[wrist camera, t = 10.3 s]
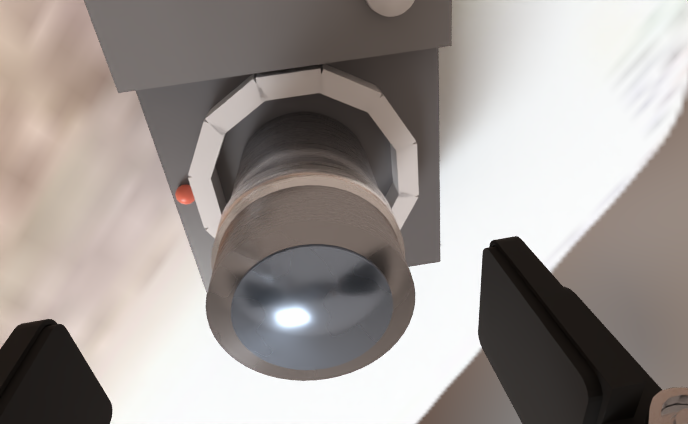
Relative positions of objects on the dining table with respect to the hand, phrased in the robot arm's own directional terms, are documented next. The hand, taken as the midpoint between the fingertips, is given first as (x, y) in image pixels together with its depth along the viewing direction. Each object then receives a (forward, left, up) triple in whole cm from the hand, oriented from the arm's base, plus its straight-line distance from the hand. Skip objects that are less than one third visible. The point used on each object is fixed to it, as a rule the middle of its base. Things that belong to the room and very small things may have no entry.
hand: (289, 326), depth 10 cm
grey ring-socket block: (-1, +1, -15) cm, 15 cm away
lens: (0, +1, -9) cm, 9 cm away
